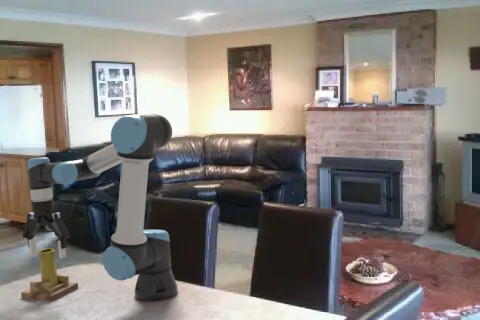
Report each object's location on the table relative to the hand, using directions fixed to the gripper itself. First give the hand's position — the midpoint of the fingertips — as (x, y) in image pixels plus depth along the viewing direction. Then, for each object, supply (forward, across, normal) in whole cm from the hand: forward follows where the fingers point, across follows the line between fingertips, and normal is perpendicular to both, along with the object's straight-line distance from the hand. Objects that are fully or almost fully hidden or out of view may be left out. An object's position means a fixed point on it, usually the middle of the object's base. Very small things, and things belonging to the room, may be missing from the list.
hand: (48, 256), depth 186 cm
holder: (+14, +1, 0) cm, 14 cm away
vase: (+12, +1, 0) cm, 12 cm away
